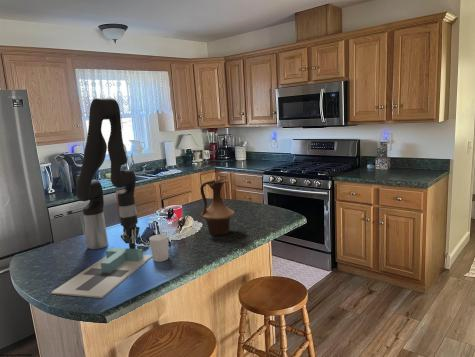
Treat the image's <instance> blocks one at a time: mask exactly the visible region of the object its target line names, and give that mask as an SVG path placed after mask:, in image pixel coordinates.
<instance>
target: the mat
mask: <svg viewBox="0 0 475 357" xmlns="http://www.w3.org/2000/svg"><path fill="white" fill-rule="evenodd" d="M106 259H107V258H106V255H105V256H103V258H101V259H99V260H97V261H96V262H94V263H93V264H91V265H90V266H89V267H87V268H85V269H84V270H83V271H81V272H79V273H78V274H77V275H75V276H74V277H72V278H70V279H69V280H67V281H66V282H64V283H63V284H62V285H60V286H58V287H57V288H55V289H54V290H52V291H51V292H50V294H52V295H61V296H62V295H64V296H71V297H72V296H73V297H74V296H75V297H83V298H94V299H95V298H96V299H103V298H105V297H106V296H107V295H108V294H109V293H111V292H112V291H114V289H116V287H118V286H119V285H120V284H121V283H123V282H124V281H125V280H127V279H128V278H129V277H131V275H132V274H134V273H135V272H136V271H137V270H138V269H139V267H140V268H141V267H142V266H143V265H145V264H146V263H147V262H148V261H149V260H151V259H153V256H152V254H143V258H142V259H141V260H140V261H125V262H124V263H123V264H121V265H120V266H119V267H117V268H116V269H115V270H113V271H112V272H111V273H107V272H102V270H101V262H103V261H104V260H106ZM145 262H146V263H145Z"/></svg>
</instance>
